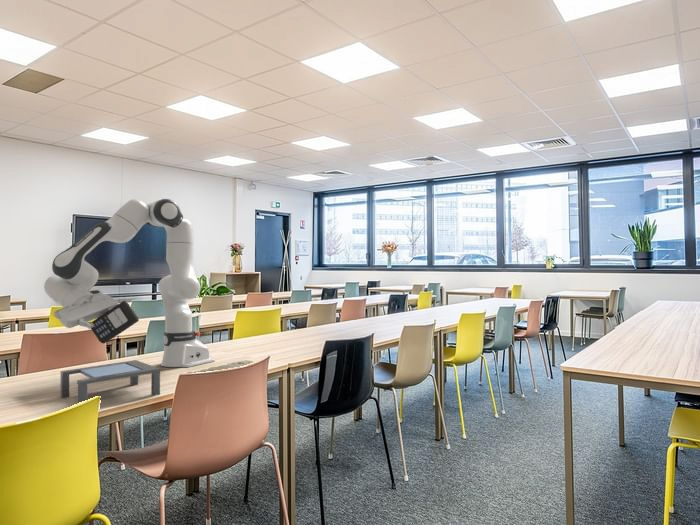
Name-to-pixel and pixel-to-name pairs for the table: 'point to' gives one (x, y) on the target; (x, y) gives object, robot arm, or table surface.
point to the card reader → (114, 322)
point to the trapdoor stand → (111, 378)
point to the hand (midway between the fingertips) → (103, 322)
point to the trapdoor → (108, 370)
